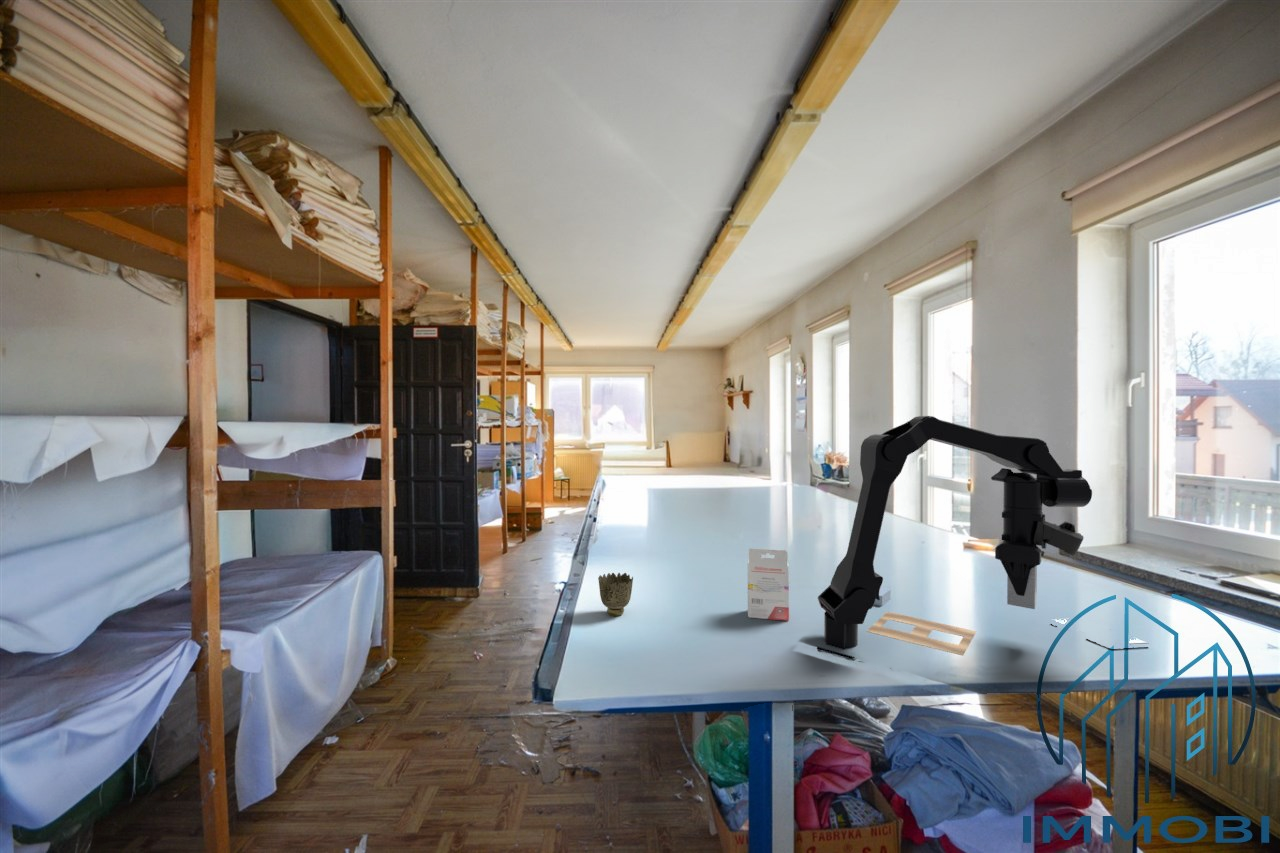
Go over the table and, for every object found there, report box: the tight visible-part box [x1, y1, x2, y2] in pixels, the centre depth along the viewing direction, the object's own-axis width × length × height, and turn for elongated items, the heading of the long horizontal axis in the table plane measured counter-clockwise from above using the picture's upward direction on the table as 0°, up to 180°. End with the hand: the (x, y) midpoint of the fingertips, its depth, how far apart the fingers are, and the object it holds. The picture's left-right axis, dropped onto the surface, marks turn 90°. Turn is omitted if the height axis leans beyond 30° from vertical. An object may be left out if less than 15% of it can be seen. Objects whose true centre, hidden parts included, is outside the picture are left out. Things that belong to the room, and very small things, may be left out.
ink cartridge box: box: [747, 547, 790, 622], centre depth 114 cm, size 9×5×15 cm, turn 76°
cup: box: [598, 572, 634, 617], centre depth 114 cm, size 8×7×8 cm
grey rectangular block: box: [1006, 565, 1038, 610], centre depth 96 cm, size 4×4×8 cm
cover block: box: [874, 587, 892, 607], centre depth 120 cm, size 6×8×4 cm
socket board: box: [866, 611, 977, 656], centre depth 102 cm, size 14×16×2 cm
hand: (1021, 592), depth 96 cm, fingers closed on grey rectangular block, 4 cm apart
